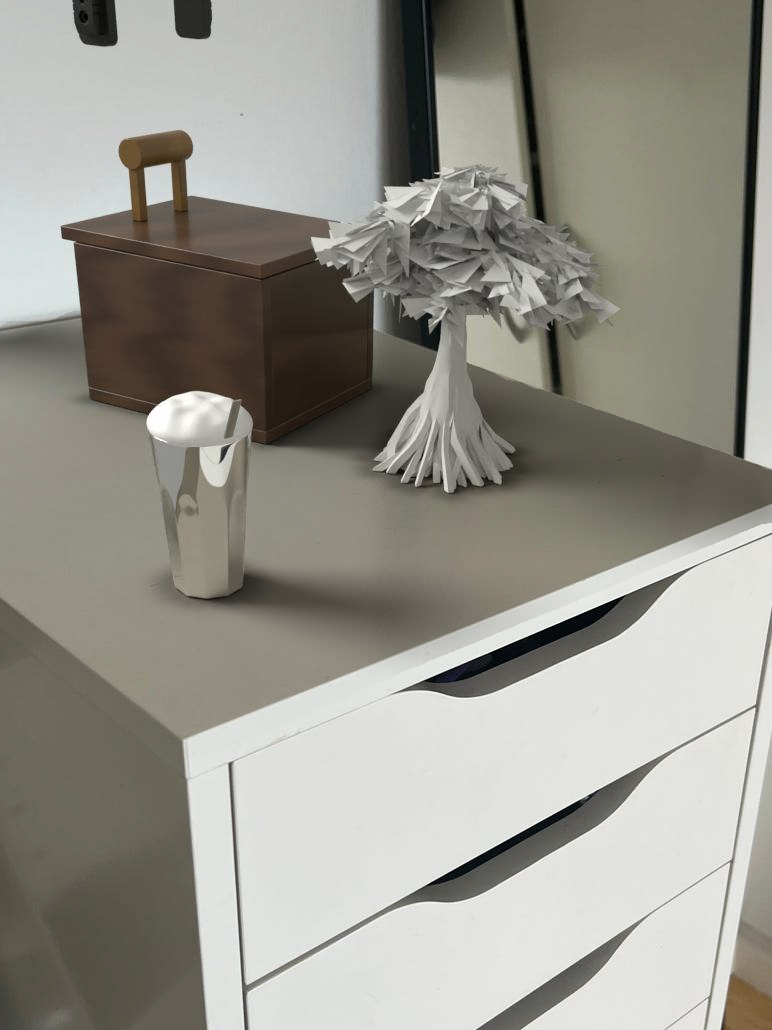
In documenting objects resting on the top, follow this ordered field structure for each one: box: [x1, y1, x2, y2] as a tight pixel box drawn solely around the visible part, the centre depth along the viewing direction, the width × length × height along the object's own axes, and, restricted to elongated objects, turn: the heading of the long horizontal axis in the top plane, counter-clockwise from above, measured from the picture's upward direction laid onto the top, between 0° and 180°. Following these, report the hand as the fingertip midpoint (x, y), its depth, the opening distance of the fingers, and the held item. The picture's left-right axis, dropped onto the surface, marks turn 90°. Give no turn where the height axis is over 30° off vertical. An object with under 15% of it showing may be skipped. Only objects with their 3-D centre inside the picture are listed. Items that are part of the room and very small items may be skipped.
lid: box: [60, 129, 351, 279], centre depth 74 cm, size 14×13×6 cm
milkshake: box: [146, 391, 253, 600], centre depth 55 cm, size 4×5×10 cm
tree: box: [310, 163, 621, 494], centre depth 68 cm, size 18×16×17 cm
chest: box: [73, 241, 375, 445], centre depth 78 cm, size 14×13×10 cm
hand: (148, 41), depth 72 cm, fingers open, 8 cm apart
